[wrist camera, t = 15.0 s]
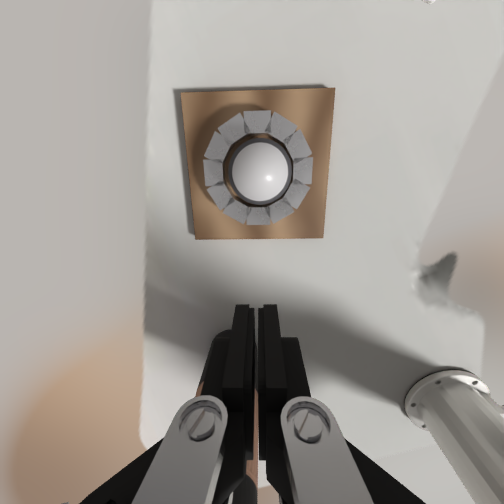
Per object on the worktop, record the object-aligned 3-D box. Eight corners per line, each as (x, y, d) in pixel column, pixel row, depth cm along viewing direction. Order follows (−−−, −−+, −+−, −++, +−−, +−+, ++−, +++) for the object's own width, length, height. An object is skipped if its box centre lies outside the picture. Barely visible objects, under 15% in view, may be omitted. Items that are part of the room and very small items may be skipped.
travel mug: (249, 373, 39) (240, 564, 20) (203, 359, 39) (151, 544, 20) (265, 336, 37) (272, 515, 18) (217, 321, 36) (172, 490, 17)
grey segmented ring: (311, 113, 26) (315, 109, 24) (305, 220, 29) (309, 224, 28) (203, 116, 26) (199, 112, 24) (211, 221, 30) (208, 225, 28)
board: (332, 91, 26) (335, 87, 25) (320, 235, 31) (323, 238, 30) (183, 95, 26) (180, 92, 25) (197, 236, 32) (195, 239, 31)
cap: (287, 143, 27) (294, 138, 22) (283, 198, 29) (290, 205, 24) (232, 142, 27) (227, 136, 22) (232, 197, 29) (228, 204, 24)
